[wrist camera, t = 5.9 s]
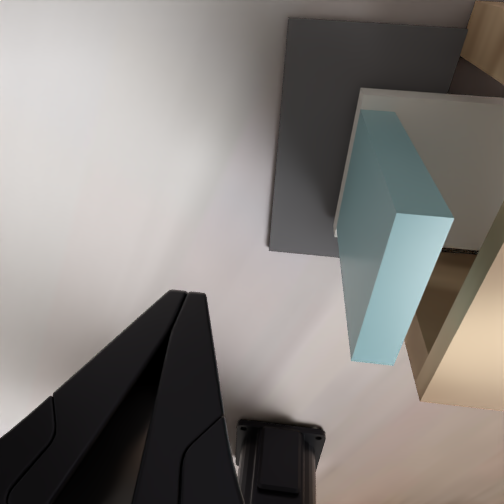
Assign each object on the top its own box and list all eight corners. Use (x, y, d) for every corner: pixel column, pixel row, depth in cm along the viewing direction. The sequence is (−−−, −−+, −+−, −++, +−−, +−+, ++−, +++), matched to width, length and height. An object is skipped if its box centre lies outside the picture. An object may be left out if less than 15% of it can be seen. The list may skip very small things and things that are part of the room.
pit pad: (391, 260, 19) (391, 262, 19) (269, 248, 20) (268, 250, 20) (466, 28, 13) (468, 28, 13) (288, 17, 14) (288, 18, 14)
